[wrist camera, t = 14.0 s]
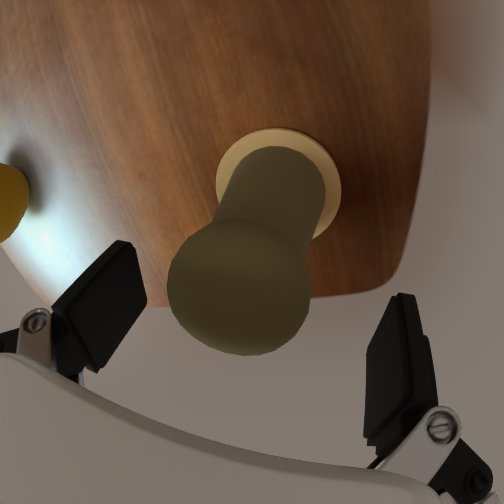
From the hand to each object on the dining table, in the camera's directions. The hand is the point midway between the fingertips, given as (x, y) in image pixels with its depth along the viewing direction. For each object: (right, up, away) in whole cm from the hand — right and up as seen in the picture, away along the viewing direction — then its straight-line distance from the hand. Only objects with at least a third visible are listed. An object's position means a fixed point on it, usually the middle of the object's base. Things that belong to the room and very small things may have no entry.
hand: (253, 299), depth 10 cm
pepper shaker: (+2, +5, +8) cm, 10 cm away
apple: (-25, +9, +14) cm, 30 cm away
